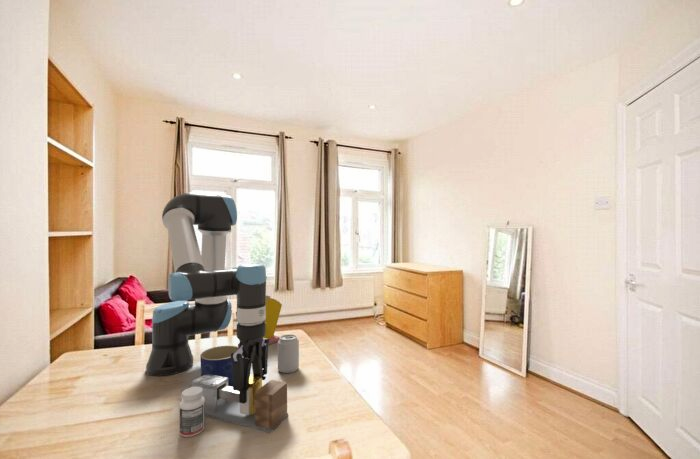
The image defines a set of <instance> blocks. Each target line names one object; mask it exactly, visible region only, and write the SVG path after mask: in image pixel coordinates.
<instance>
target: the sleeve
mask: <svg viewBox="0 0 700 459" xmlns="http://www.w3.org/2000/svg"><path fill="white" fill-rule="evenodd" d="M222 385H225V386H228V378H227V377H222V376H217V375H211V374H205V375H203V376H201V375H200V376H199V377H197V378H195V379H193V380H192V381H191V387H201V388H202V389H203V394H202V396H203V397H204V398H205V410H206V411H210V412H216V411H217V410H218V409H220V408H221V407H223V406H224V405H225V404H227V403H228V400H225V399H220V398H217V388H218V387H220V386H222Z"/></svg>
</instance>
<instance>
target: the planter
mask: <svg viewBox="0 0 700 459" xmlns="http://www.w3.org/2000/svg"><path fill="white" fill-rule="evenodd" d="M237 350H238V345H237V346H236V345H219V346H214V347H211V348H207V349H205V350H204V351H203V352H201V353H200V358H199V359H200V377H201V376H203V375H205V374H211V375H217V376H222V377H227V378H228V386H230V387H233V363H232V359H231V354H232V353H236V352H237Z"/></svg>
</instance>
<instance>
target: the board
mask: <svg viewBox="0 0 700 459" xmlns="http://www.w3.org/2000/svg"><path fill="white" fill-rule="evenodd" d="M288 416H289V412H287V415H286V416H285V417H284V418H283V419H282V421H280V422H281V423H282V422H283V421H284V420H285V419H286V418H287V417H288ZM205 417H207V418H210V419H211V418H212V419H214V420H215V419H216V420H219V421H223V422H227V423H231V424H235V425H239V426H242V427H246V428H251V429H255V430H259V431H262V432H266V433H269V434H270V433H272V432H273V431H274V430H275V429H276V428H278V426H279V425H280V424H281V423H280V422H279V423H278V424H277V425H278V426H277V425H276V426H275V427H276V428H273V429H274V430H273V429H270V428H266V427H262V426H258V425H255V413H254V414H253V415H252V414H250V415H245V414H241V413H240V403H238V402H234V401H229V400H228V403H227V404H225V405H224V406H223V407H221V408H220V409H218V410H217V411H216V412H210V411H206V410H205ZM272 430H273V431H272Z"/></svg>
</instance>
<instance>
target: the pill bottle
mask: <svg viewBox="0 0 700 459" xmlns="http://www.w3.org/2000/svg"><path fill="white" fill-rule="evenodd" d="M202 394H203V389H202V388H201V387H192V386H190V387H188V388H185V389H183V391H182V392H181V399H182V400H181V402H180V403H179V434H180V436H182V437H185V438H191V437H194V436H197V435H199V434H200V433H202V432H203V431H204V429H205V427H206V416H205V398H204V397H203V396H202Z"/></svg>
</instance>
